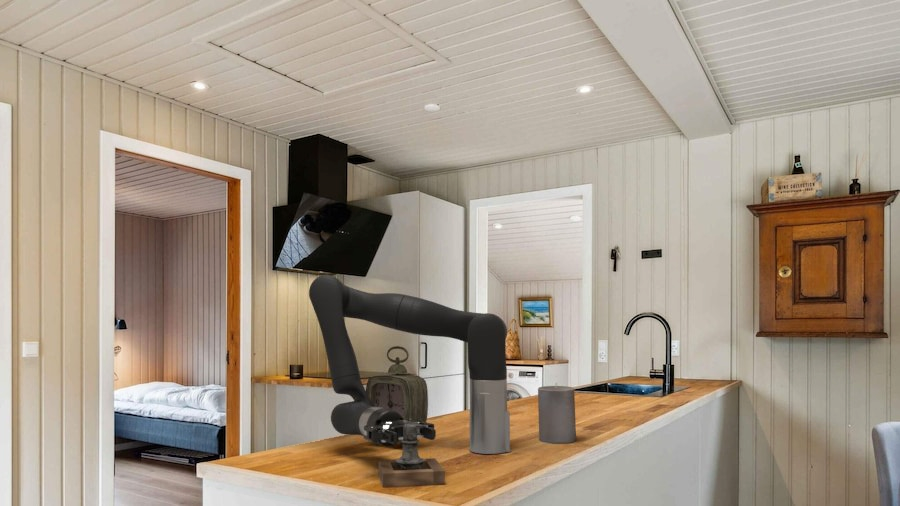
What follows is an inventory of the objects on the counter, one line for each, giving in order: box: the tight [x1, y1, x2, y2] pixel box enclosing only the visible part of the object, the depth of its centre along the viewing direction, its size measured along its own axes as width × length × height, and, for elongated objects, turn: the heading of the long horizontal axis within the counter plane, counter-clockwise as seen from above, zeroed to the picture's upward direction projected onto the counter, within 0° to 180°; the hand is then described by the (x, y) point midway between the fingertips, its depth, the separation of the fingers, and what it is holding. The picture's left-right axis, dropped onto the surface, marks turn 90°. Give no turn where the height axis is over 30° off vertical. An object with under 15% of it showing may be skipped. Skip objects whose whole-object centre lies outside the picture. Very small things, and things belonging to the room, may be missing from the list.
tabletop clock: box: [365, 345, 429, 446], centre depth 168 cm, size 14×9×25 cm, turn 56°
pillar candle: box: [537, 382, 577, 445], centre depth 174 cm, size 10×10×15 cm
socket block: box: [377, 457, 446, 488], centre depth 132 cm, size 12×12×2 cm
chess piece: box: [395, 418, 425, 470], centre depth 133 cm, size 6×6×12 cm
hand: (414, 436), depth 131 cm, fingers open, 8 cm apart
